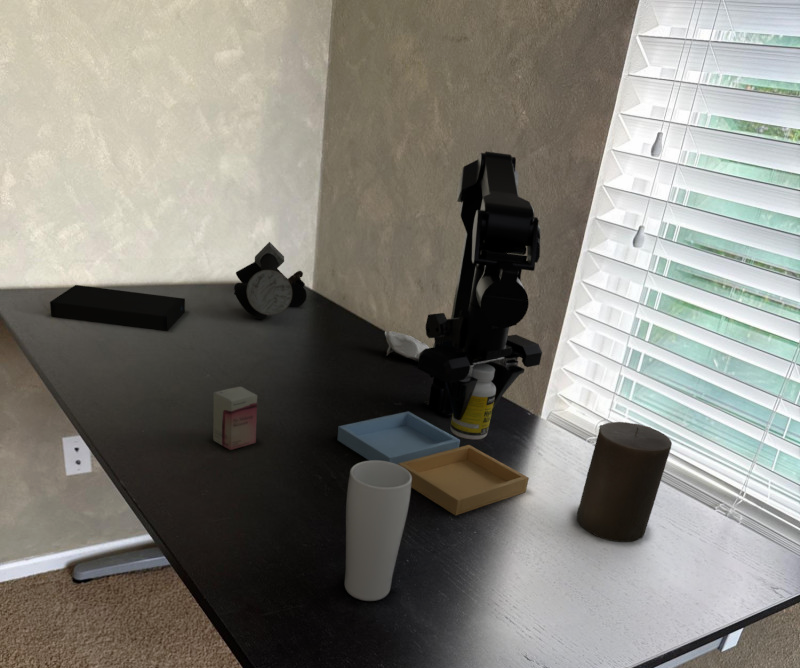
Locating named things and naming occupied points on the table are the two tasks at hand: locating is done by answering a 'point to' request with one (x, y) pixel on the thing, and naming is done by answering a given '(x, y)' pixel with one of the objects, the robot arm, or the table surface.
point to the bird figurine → (404, 345)
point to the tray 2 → (464, 479)
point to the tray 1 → (396, 438)
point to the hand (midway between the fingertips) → (471, 415)
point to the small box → (234, 417)
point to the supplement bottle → (477, 405)
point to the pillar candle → (623, 480)
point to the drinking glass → (374, 526)
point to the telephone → (268, 285)
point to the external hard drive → (118, 307)
